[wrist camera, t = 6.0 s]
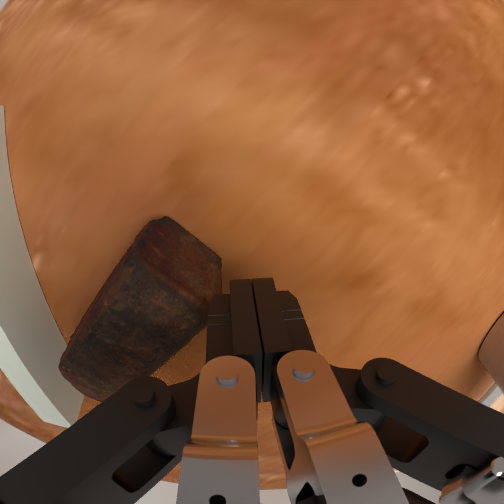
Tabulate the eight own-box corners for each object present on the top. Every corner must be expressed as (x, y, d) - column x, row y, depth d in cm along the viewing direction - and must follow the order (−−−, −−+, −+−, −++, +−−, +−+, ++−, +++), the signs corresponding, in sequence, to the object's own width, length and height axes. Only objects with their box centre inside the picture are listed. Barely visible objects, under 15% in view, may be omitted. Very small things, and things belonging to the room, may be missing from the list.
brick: (159, 204, 12) (129, 250, 8) (223, 255, 14) (224, 317, 10) (74, 328, 15) (48, 381, 11) (123, 360, 17) (108, 416, 13)
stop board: (3, 105, 9) (-55, 114, 5) (88, 383, 18) (74, 429, 14) (-26, 121, 8) (-79, 135, 4) (59, 378, 17) (43, 421, 13)
